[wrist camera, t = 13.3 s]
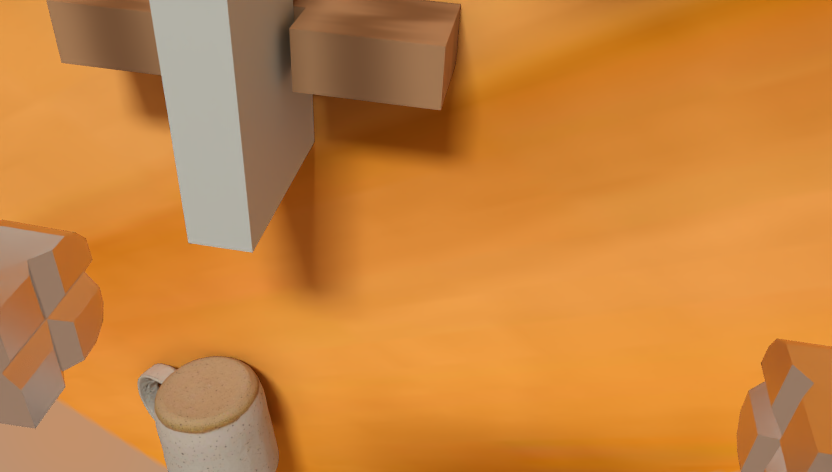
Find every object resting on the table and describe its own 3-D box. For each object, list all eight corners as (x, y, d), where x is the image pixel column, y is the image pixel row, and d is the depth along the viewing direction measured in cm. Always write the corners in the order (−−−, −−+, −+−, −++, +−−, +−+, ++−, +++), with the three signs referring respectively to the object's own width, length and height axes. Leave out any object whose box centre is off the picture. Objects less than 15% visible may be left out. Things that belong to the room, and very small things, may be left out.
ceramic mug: (274, 352, 54) (232, 441, 48) (293, 431, 58) (257, 521, 52) (133, 339, 56) (76, 422, 50) (163, 416, 60) (114, 501, 54)
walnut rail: (460, 4, 37) (445, 46, 33) (455, 63, 39) (440, 110, 35) (101, -36, 39) (46, 0, 35) (112, 22, 41) (61, 62, 37)
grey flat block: (238, -142, 35) (136, -81, 27) (304, -136, 34) (219, -72, 27) (261, 134, 43) (188, 242, 35) (314, 141, 43) (252, 252, 35)
